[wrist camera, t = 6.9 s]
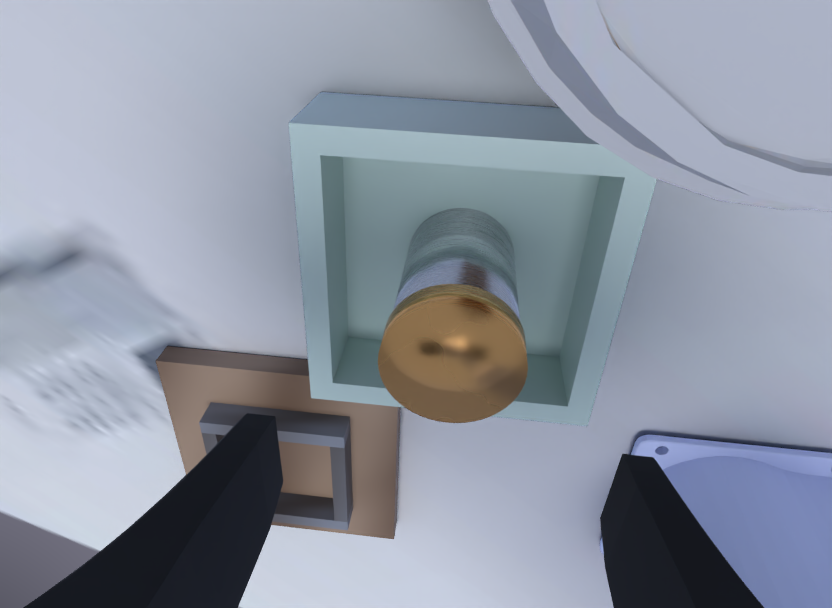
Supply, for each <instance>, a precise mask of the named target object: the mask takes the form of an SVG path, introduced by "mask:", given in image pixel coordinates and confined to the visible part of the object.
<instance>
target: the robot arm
mask: <svg viewBox="0 0 832 608" xmlns="http://www.w3.org/2000/svg"><path fill="white" fill-rule="evenodd" d="M660 446H664V447H662V448H658V447H660ZM282 485H283V474H282V466H281V458H280V450H279V442H278V434H277V426H276V418H275V416H269V415H260V414H251V413H247V414H245V415H244V416H243V417H242V418H241V419H240V420H239V421H238V422H237V423H236V424H235V425H234V426H233V427H232V428H231V429H230V431H229V432H228V433H227V434H226V435H225V436H224V437H223V438H222V439H221V440H220V441H219V442H218V443H217V444H216V445H215V446H214V447H213V448H212V449H211V451H210V452H209V453H208V454H207V455H206V456H205V457H204V458H203V459H202V460H201V461H200V462H199V463H198V464H197V465H196V466H195V467H194V468H193V469H192V470H191V471H190V472H189V473H188V474H187V475H186V476H185V477H184V478H183V479H181V480H180V481H179V482H178V483H177V484H176V485H175V486H174V487H173V488H172V489H171V490H170V491H169V492H168V493H167V494H166V495H165V496H164V497H163V498H162V499H160V500H159V501H158V502H157V503H156V504H155V505H154V506H153V507H152V508H150V509H149V510H148V511H147V512H146V513H145V514H144V515H143V516H142V517H140V518H139V519H138V520H137V521H136V522H135V523H134V524H133V525H131V526H130V527H129V528H128V529H127V530H126V531H124V532H123V533H122V534H121V535H120V536H118V537H117V538H116V539H115V540H114V541H112V542H111V543H110V544H109V545H107V546H106V547H105V548H104V549H103V550H101V551H100V552H99V553H97V554H96V555H95V556H94V557H92V558H91V559H90V560H89V561H87V562H86V563H85V564H83V565H82V566H81V567H79V568H78V569H77V570H75V571H74V572H73V573H71V574H70V575H69V576H67V577H66V578H64V579H63V580H62V581H60V582H59V583H58V584H56V585H55V586H54V587H52V588H51V589H49V590H48V591H47V592H45V593H44V594H42V595H41V596H40V597H38V598H37V599H35V600H34V601H32V602H31V603H29V604H28V605H27V606H25V607H24V608H238V605H239V603H240V601H241V598H242V596H243V593H244V591H245V588H246V586H247V584H248V581H249V579H250V576H251V574H252V572H253V569H254V567H255V564H256V562H257V559H258V557H259V554H260V552H261V550H262V547H263V545H264V542H265V540H266V537H267V535H268V532H269V530H270V527H271V524H272V520H273V517H274V513H275V510H276V507H277V503H278V499H279V496H280V492H281V488H282ZM600 521H601V531H602V538H601V541H600V550H601V552H602V554H604V560H605V569H606V573H607V578H608V583H609V588H610V592H611V597H612V601H613V606H614V608H832V453H825V452H815V451H805V450H795V449H786V448H776V447H766V446H756V445H747V444H737V443H727V442H717V441H707V440H698V439H688V438H678V437H668V436H659V435H643V436H641V437H639V438H638V439H637V440H636V442H635V444H634V447H633V450H632V453H631V455H628V454H622V457H621V460H620V463H619V465H618V468H617V471H616V474H615V477H614V480H613V483H612V486H611V489H610V491H609V494H608V497H607V500H606V503H605V506H604V509H603V512H602V515H601V517H600Z"/></svg>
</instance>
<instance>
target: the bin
mask: <svg viewBox="0 0 832 608" xmlns="http://www.w3.org/2000/svg"><path fill="white" fill-rule="evenodd" d="M289 136H290V148H291V160H292V172H293V184H294V196H295V208H296V221H297V233H298V245H299V257H300V269H301V281H302V293H303V306H304V318H305V330H306V342H307V354H308V366H309V378H310V391H311V398H315V399H325V400H335V401H344V402H354V403H364V404H374V405H384V406H393V407H403V408H405V407H404V406H402V405H401V404H400V403H399V402H397V401H396V400H395V399H394V398H393V397H392V395H391V394H390V393H389V392H388V390H387V389H386V387H385V386H384V384H383V382H382V379H381V377H380V373H379V369H378V353H379V349H380V345H381V342H382V338H383V334H384V330H385V326H386V323H387V321H388V318H389V316H390V315H391V313H392V311H393V309H394V305H395V301H396V297H397V293H398V289H399V285H400V281H401V277H402V273H403V269H404V265H405V261H406V257H407V253H408V249H409V245H410V242H411V239H412V236H413V234H414V233H415V231H416V229H417V228H418V227H419V226H420V225H421V224H422V223H423V222H424V221H425V220H426V219H427V218H429V217H430V216H432V215H434V214H436V213H438V212H441V211H443V210H447V209H453V208H469V209H474V210H478V211H481V212H483V213H486V214H488V215H490V216H491V217H493V218H494V219H496V220H497V221H498V222H499V223H500V224H501V225H502V226H503V227H504V228H505V229H506V231H507V232H508V234H509V236H510V238H511V241H512V243H513V248H514V257H515V269H516V281H517V293H518V304H519V316H520V322H521V324H522V327H523V330H524V334H525V341H526V351H527V362H528V372H527V378H526V381H525V384H524V386H523V388H522V390H521V392H520V393H519V395H518V396H517V398H516V399H515V400H514V401H513V402H512V403H511V404H510V405H509V406H507V407H506V408H505V409H503V410H502V411H500V412H498V413H496V414H494V415H492V416H491V417H501V418H511V419H521V420H531V421H540V422H550V423H560V424H570V425H579V426H588V422H589V419H590V415H591V412H592V408H593V405H594V401H595V397H596V394H597V390H598V387H599V383H600V380H601V376H602V373H603V369H604V365H605V362H606V358H607V355H608V351H609V348H610V344H611V341H612V337H613V334H614V330H615V326H616V323H617V319H618V316H619V312H620V309H621V305H622V302H623V298H624V294H625V291H626V287H627V284H628V280H629V277H630V273H631V270H632V266H633V263H634V259H635V255H636V252H637V248H638V245H639V241H640V238H641V234H642V231H643V227H644V223H645V220H646V216H647V213H648V209H649V206H650V202H651V199H652V195H653V192H654V188H655V184H656V181H657V179H655V178H653V177H651V176H649V175H648V174H646V173H645V172H643V171H641V170H640V169H638V168H637V167H635V166H633V165H632V164H630V163H629V162H627V161H625V160H624V159H622V158H621V157H619V156H617V155H616V154H614V153H613V152H611V151H610V150H608V149H606V148H605V147H603V146H602V145H600V144H598V143H597V142H595V141H594V140H592V139H590V138H589V137H587V136H586V135H585V134H584V133H583V132H582V131H581V130H580V128H579V127H578V126H577V125H576V124H575V123H574V122H573V121H572V120H571V119H570V118H569V117H568V116H567V115H566V114H565V113H564V112H563V111H562V110H561V108H557V107H542V106H527V105H512V104H497V103H482V102H466V101H451V100H436V99H421V98H406V97H390V96H375V95H360V94H345V93H330V92H320V93H319V94H318V95H317V96H316V97H315V98H314V99H313V100H312V101H311V102H310V103H309V104H308V105H307V106H306V107H305V108H304V109H303V110H302V111H300V112H299V113H298V114H297V115H296V116H295V117H294V118H293V119H292V120H291V121H290V122H289Z"/></svg>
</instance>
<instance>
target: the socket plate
mask: <svg viewBox="0 0 832 608" xmlns="http://www.w3.org/2000/svg"><path fill="white" fill-rule="evenodd" d="M156 364H157V368H158V371H159V375H160V379H161V382H162V386H163V390H164V394H165V397H166V401H167V405H168V409H169V412H170V416H171V420H172V423H173V427H174V431H175V435H176V438H177V442H178V446H179V449H180V453H181V457H182V461H183V464H184V468H185V472H186V475H187V474H188V473H189V472H190V471H191V470H192V469H193V468H194V467H195V466H196V465H197V464H198V463H199V462H200V461H201V460H202V459H203V458H204V457H205V456H206V455H207V454H208V453H209V452H210V451H211V449H212V448H213V447H214V446H215V445H216V444H217V443H218V442H219V441H220V440H221V439H222V438H223V437H224V436H225V435H226V434H227V433H228V432H229V431H230V429H231V428H232V427H233V426H234V425H235V424H236V423H237V422H238V421H239V420H240V419H241V418H242V417H243V416H244V415H245V414H247V413H251V414H260V415H269V416H275V418H276V426H277V434H278V442H279V450H280V458H281V466H282V474H283V485H282V488H281V492H280V496H279V499H278V503H277V507H276V510H275V513H274V517H273V520H272V524H271V525H278V526H287V527H295V528H304V529H312V530H321V531H329V532H338V533H346V534H355V535H363V536H372V537H380V538H389V539H394V536H395V529H396V523H397V495H398V464H399V433H400V407H393V406H384V405H374V404H364V403H354V402H344V401H335V400H325V399H315V398H311V391H310V378H309V366H308V360H304V359H294V358H283V357H273V356H263V355H253V354H242V353H232V352H222V351H212V350H201V349H191V348H181V347H171V346H167V347H166V348H165V350H164V351H163V352H162V353H161V355H160V356H159V357H158V359H157V360H156Z"/></svg>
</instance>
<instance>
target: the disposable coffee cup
mask: <svg viewBox="0 0 832 608" xmlns="http://www.w3.org/2000/svg"><path fill="white" fill-rule="evenodd" d="M488 3H489V5H490V8H491V11H492V13H493V16H494V17H495V19H496V20H497V22H498V24H499V25H500V27H501V28H502V30H503V31H504V33H505V35H506V36H507V38H508V39H509V41H510V43H511V44H512V46H513V47H514V49H515V50H516V52H517V54H518V55H519V57H520V58H521V60H522V61H523V63H524V65H525V66H526V68H527V69H528V71H529V73H530V74H531V76H532V77H533V79H534V80H535V82H536V83H537V84H538V85H539V86H540V87H541V88H542V90H543V91H544V92H545V93H546V94H547V95H548V96H549V97H550V98H551V99H552V100H553V101H554V102H555V103H556V104H557V105H558V106H559V107H560V108H561V110H562V111H563V112H564V113H565V114H566V115H567V116H568V117H569V118H570V119H571V120H572V121H573V122H574V123H575V124H576V125H577V126H578V127H579V128H580V130H581V131H582V132H583V133H584V134H585V135H586V136H587V137H589V138H590V139H592V140H594V141H595V142H597V143H598V144H600V145H602V146H603V147H605V148H606V149H608V150H610V151H611V152H613V153H614V154H616V155H617V156H619V157H621V158H622V159H624V160H625V161H627V162H629V163H630V164H632V165H633V166H635V167H637V168H638V169H640V170H641V171H643V172H645V173H646V174H648V175H649V176H651V177H653V178H655V179H658V180H661V181H664V182H667V183H669V184H672V185H675V186H678V187H681V188H684V189H686V190H689V191H692V192H695V193H698V194H701V195H704V196H706V197H709V198H712V199H715V200H719V201H725V202H732V203H739V204H746V205H753V206H760V207H766V208H773V209H780V210H807V209H814V210H819V211H827V212H832V0H488Z"/></svg>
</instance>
